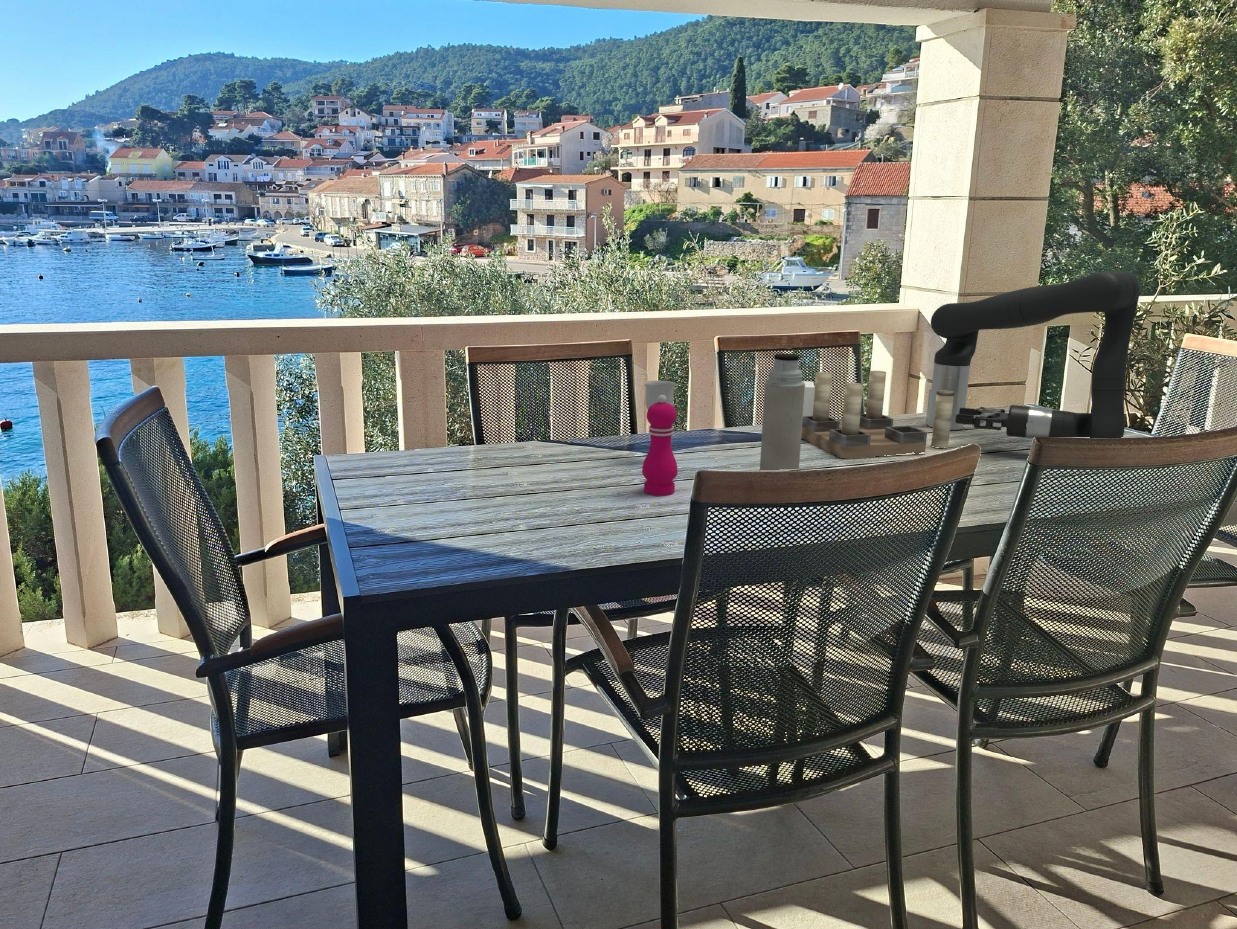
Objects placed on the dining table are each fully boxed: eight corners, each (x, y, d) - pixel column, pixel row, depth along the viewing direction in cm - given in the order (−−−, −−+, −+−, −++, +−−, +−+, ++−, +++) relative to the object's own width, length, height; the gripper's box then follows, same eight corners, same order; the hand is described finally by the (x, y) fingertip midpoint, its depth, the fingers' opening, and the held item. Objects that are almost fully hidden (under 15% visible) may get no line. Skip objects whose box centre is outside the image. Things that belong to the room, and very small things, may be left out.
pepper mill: (663, 498, 189) (667, 399, 183) (634, 491, 193) (636, 395, 188) (683, 490, 194) (687, 394, 189) (654, 484, 198) (657, 390, 193)
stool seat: (800, 437, 242) (804, 371, 238) (877, 433, 248) (883, 369, 243) (842, 459, 222) (848, 387, 217) (924, 454, 227) (932, 384, 223)
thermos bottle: (768, 480, 203) (776, 350, 195) (803, 487, 199) (813, 353, 191) (752, 489, 196) (760, 354, 189) (788, 496, 192) (798, 358, 185)
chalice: (677, 459, 218) (680, 382, 214) (666, 466, 212) (669, 387, 208) (648, 455, 221) (650, 379, 217) (636, 462, 215) (638, 384, 211)
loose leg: (927, 445, 236) (933, 390, 233) (941, 444, 237) (948, 389, 234) (937, 449, 233) (943, 393, 229) (951, 448, 234) (958, 392, 230)
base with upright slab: (787, 424, 257) (790, 380, 254) (821, 426, 256) (824, 382, 253) (788, 431, 248) (791, 386, 245) (823, 433, 247) (826, 388, 244)
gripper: (1032, 401, 230) (961, 395, 237) (1030, 412, 218) (956, 405, 224) (1028, 431, 232) (958, 424, 239) (1026, 444, 220) (952, 436, 226)
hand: (957, 415), depth 231 cm, fingers open, 8 cm apart
